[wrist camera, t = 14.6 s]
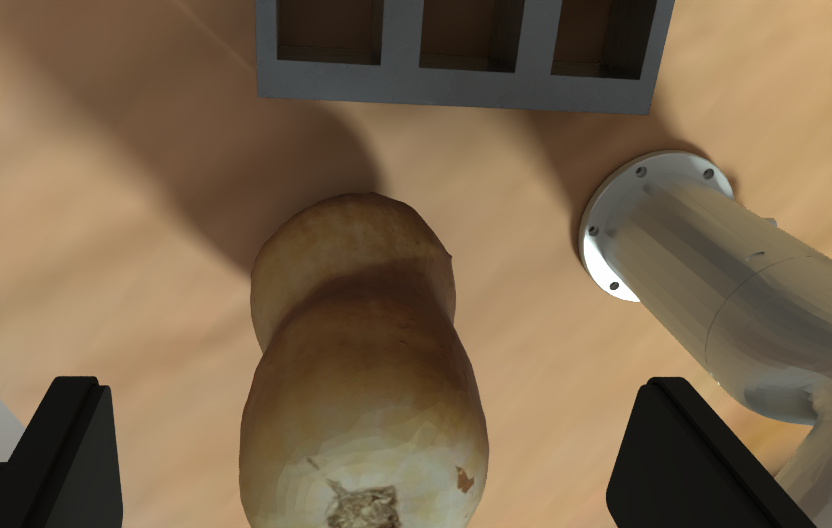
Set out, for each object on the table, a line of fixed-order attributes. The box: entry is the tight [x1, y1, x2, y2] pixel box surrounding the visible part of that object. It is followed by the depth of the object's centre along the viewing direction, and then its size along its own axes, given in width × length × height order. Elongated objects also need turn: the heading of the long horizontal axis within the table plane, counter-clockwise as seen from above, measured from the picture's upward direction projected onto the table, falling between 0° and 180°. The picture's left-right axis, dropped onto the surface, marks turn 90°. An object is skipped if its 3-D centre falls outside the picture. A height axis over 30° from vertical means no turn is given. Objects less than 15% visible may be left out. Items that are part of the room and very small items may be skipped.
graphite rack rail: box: [255, 0, 675, 115], centre depth 39 cm, size 24×10×6 cm, turn 86°
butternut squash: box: [239, 192, 489, 528], centre depth 38 cm, size 14×13×25 cm
